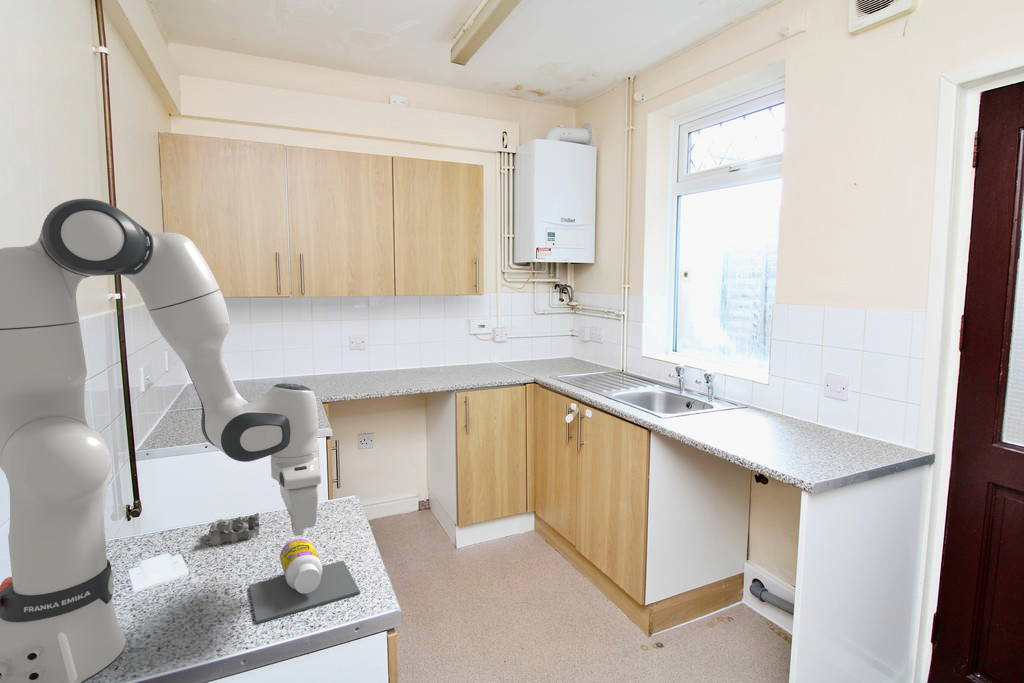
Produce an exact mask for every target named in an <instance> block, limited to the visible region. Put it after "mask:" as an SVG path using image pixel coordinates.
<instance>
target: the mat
mask: <svg viewBox="0 0 1024 683" xmlns="http://www.w3.org/2000/svg"><path fill="white" fill-rule="evenodd" d="M249 593H250V597H251V602H252V609H253V614H254V618H255V624H256V625H257V624H261V623H265V622H268V621H271V620H275V619H278V618H281V617H284V616H288V615H292V614H295V613H298V612H299V613H300V612H302V611H306V610H309V609H312V608H315V607H320V606H322V605H325V604H330V603H333V602H335V601H336V602H337V601H339V600H342V599H346V598H350V597H353V596H356V595H358V594H359V595H360V594H361V590H360V588H359V587H358V585H357V582H356V581H355V579H354V577H353V575H352V573H351V572H350V570H349V568H348V567H347V565H346V562H345V561H344V560H341V561H337V562H334V563H333V562H332V563H329V564H327V565H326V564H324V565H322V574H321V580H320V584H319V585H318V587H317V588H316V589H315V590H314V591H312V592H310V593H306V594H303V593H299V592H298V591H297V590H296V589H293V588H292V587H290V586H289V585H288V583H287V580H286V577H285V575H283V576H279V577H275V578H271V579H268V580H264V581H259V582H256V583H251V584H249Z"/></svg>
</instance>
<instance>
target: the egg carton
mask: <svg viewBox="0 0 1024 683" xmlns="http://www.w3.org/2000/svg"><path fill="white" fill-rule="evenodd" d="M252 526H253V527H252ZM250 528H253V530H252V529H251V530H249V529H250ZM236 530H237V532H236ZM208 531H209V532H208V534H207V535H208V536H209V545H215V546H221V545H222V544H223V543H226V542H225V541H227V542H231V541H232V542H231V543H236V542H239V541H240V540H242V538H243V539H248V540H252V539H251V538H253V539H255V538H256V537H258V536H257V535H259V536H260V514H259V513H258V512H257V513H255V514H250V515H245V516H244V517H242V516H241V515H240V516H239V517H236V518H235V517H233V518H229V519H222V518H221V519H218V520H215V521H214V522H213V523H211V525H210V527H209V530H208ZM255 536H256V537H255ZM239 539H240V540H239ZM235 541H236V542H235ZM220 544H221V545H220Z"/></svg>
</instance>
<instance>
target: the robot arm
mask: <svg viewBox="0 0 1024 683" xmlns="http://www.w3.org/2000/svg"><path fill="white" fill-rule="evenodd" d="M114 275H115V276H117V275H118V276H123V277H124V278H127V279H128V280H129V281H130V282H131V283H132V284H133V285H134V286H135V288H136V289H137V291H138V293H139V294H140V296H141V298H142V300H143V302H144V304H145V307H146V309H147V311H148V313H149V314H148V315H150V318H151V319H152V321H153V323H154V325H155V326H156V327H157V329H158V331H159V332H160V334H161V336H162V337H163V338H164V340H165V341H166V342H167V344H168V345H169V347H170V348H171V349H172V350H173V351H174V352H175V354H176V355H177V357H179V359H180V360H181V362H182V363H183V364H184V366H185V369H186V371H187V373H188V375H189V378H190V379H191V382H192V385H193V388H194V390H195V391H196V394H197V396H198V398H199V400H200V405H201V421H200V422H201V425H200V427H201V432H202V434H203V437H204V438H205V440H206V441H207V442H208V443H209V444H210V445H212V446H214V447H216V448H218V449H219V450H220V451H221V452H222V453H223V454H225V456H227V457H228V458H230V459H232V460H235V461H237V462H242V463H243V462H244V463H247V462H254V461H258V460H260V459H263V458H266V457H269V456H270V476H271V478H272V479H273V480H274V481H275V480H276V481H277V482H278V485H279V489H280V496H281V498H282V501H283V503H284V505H285V507H286V510H287V514H288V515H289V517H290V522H291V531H292V532H293V533H292V534H293V536H294V537H298V536H302V535H303V534H304V533H305V530H306V529H311V528H314V527H315V526H316V524H317V520H318V508H319V507H318V506H319V486H318V485H320V484H322V474H321V468H320V467H321V466H320V465H321V464H320V463H321V462H320V444H319V442H318V438H317V437H318V431H319V426H320V424H319V412H318V411H319V410H318V402H317V399H316V395H315V392H314V391H313V390H312V389H311V388H309V387H308V386H305V385H301V384H298V383H297V384H296V383H277V384H274V385H272V387H271V388H270V389H269V390H267V392H265V393H264V394H263V395H261V396H259V397H258V398H256V399H254V400H252V401H250V402H249V401H247V399H245V398H244V397H242V395H241V394H240V393H239V392H238V391H237V390H238V389H237V388H236V386H235V383H234V381H233V379H232V376H231V374H230V370H229V369H228V366H227V363H226V361H225V358H224V353H223V344H224V341H225V339H226V337H227V335H228V334H229V332H230V328H231V320H230V316H229V310H228V308H227V303H226V300H225V297H224V295H223V293H222V291H221V288H220V286H219V284H218V282H217V279H216V278H215V276H214V273H213V272H212V270H211V268H210V266H209V264H208V262H207V261H206V259H205V258H204V256H203V255H202V253H201V251H199V249H198V248H197V246H196V245H195V242H193V241H192V239H190V238H189V237H187V236H186V235H184V234H181V233H178V232H169V231H167V232H165V231H164V232H157V233H151V232H150V231H148V230H147V229H146V228H144V227H143V226H142V225H141V224H140V223H138V222H136V221H135V220H134V219H133V218H131V216H129V215H127V213H125V212H124V211H122V210H121V209H119V208H118V207H116V206H114V205H112V204H110V203H107V202H105V201H101V200H98V199H94V198H75V199H70V200H68V201H64V202H62V203H60V204H58V205H57V206H55V207H54V208H53V209H52V210H50V211H49V213H48V214H47V216H46V217H45V219H44V221H43V223H42V226H41V231H40V235H39V237H38V239H37V240H36V241H35V242H34V243H33V244H30V245H25V246H10V247H3V248H0V469H1V470H2V472H3V473H4V475H5V477H6V480H7V484H8V488H9V532H8V536H7V540H8V552H9V561H10V571H11V576H8V577H7V578H4V579H3V581H2V582H1V584H0V683H82V682H84V681H86V680H87V679H89V678H90V677H92V676H94V675H96V674H98V673H99V672H100V671H102V670H103V669H105V668H106V667H108V666H109V665H110V664H111V663H112V662H114V661H115V660H116V659H117V658H118V657H119V655H121V653H122V652H123V650H124V649H125V647H126V644H127V637H126V636H125V634H124V632H123V630H122V628H121V625H120V623H119V621H118V618H117V614H116V611H115V607H114V603H113V595H114V593H115V592H114V576H113V574H114V573H113V570H112V567H111V561H110V560H109V559H108V558H107V542H106V541H107V540H106V531H105V528H106V527H105V508H106V506H105V505H106V499H107V492H108V483H109V482H108V481H109V480H108V478H109V473H110V471H111V467H112V458H111V452H110V449H109V446H108V443H107V441H106V440H105V438H104V437H103V436H102V435H101V433H99V432H98V431H96V430H95V429H93V428H92V427H90V426H89V424H88V422H87V419H86V414H85V409H86V408H85V391H86V390H85V389H86V387H85V385H86V379H87V374H88V372H87V364H86V363H87V362H86V356H85V350H84V342H83V337H82V331H81V326H80V324H81V322H80V317H79V312H78V306H77V291H78V290H77V289H78V287H79V284H80V283H81V281H82V280H83V279H86V278H89V277H101V276H102V277H103V276H114Z"/></svg>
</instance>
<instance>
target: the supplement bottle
mask: <svg viewBox="0 0 1024 683" xmlns="http://www.w3.org/2000/svg"><path fill="white" fill-rule="evenodd" d="M279 560H280V565H281V568H282V570H283V571H282V572H283V573H284V576H285V577H286V580H287V583H288V585H289V586H290V587H292V588H293V589H296V590H297V591H298V592H299V593H303V594H306V593H310V592H312V591H314V590H315V589H316V588H317V587H318V585H319V584H320V580H321V574H322V566H323V565H322V561H321V559H320V557H319V555H318V552H317V550H316V549H315V546H314V544H313V542H312V541H311V540H310V539H308V538H306V537H302V536H301V537H295V538H293V539H290V540H289V541H287V542H285V544H284V545H283V547H282V548H281V550H280V553H279Z"/></svg>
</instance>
